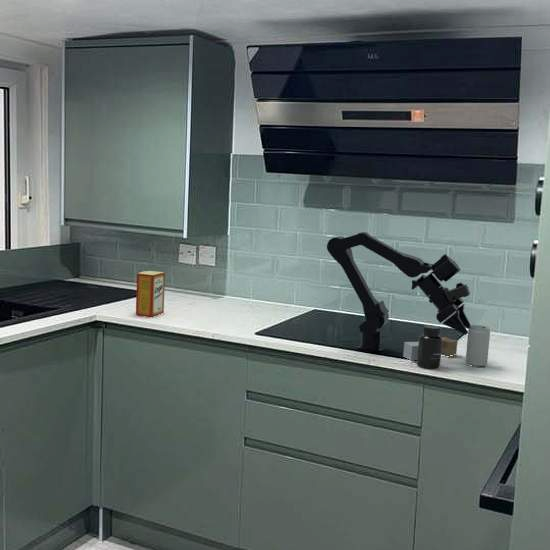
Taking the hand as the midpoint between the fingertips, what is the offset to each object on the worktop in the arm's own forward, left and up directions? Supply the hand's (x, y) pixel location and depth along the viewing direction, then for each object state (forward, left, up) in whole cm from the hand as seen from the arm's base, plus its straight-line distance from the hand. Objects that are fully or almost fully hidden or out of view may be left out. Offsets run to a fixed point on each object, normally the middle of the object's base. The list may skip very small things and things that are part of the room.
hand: (468, 330), depth 219 cm
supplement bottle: (-1, -14, -10) cm, 17 cm away
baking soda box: (-92, -71, -10) cm, 116 cm away
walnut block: (-11, +1, -10) cm, 15 cm away
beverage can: (+2, +2, -10) cm, 11 cm away
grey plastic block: (-9, -13, -10) cm, 19 cm away
